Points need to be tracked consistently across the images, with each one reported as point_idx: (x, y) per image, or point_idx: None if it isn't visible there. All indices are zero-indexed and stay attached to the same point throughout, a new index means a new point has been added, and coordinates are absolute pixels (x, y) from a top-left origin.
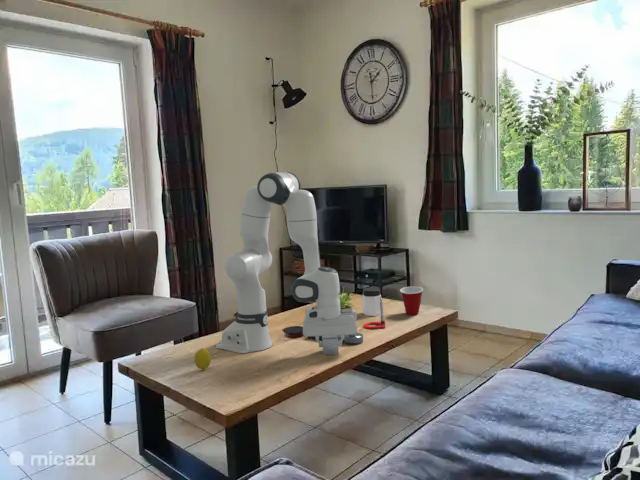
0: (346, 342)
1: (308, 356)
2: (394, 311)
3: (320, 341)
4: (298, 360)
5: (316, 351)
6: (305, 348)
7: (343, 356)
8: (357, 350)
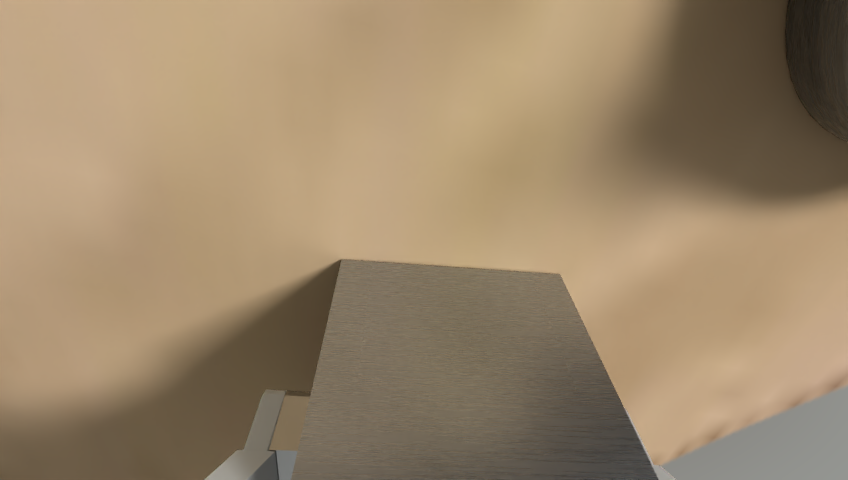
0: (819, 93)
1: (168, 408)
2: None
3: (280, 450)
4: (80, 471)
5: (252, 289)
6: (37, 128)
7: None
8: (772, 352)
